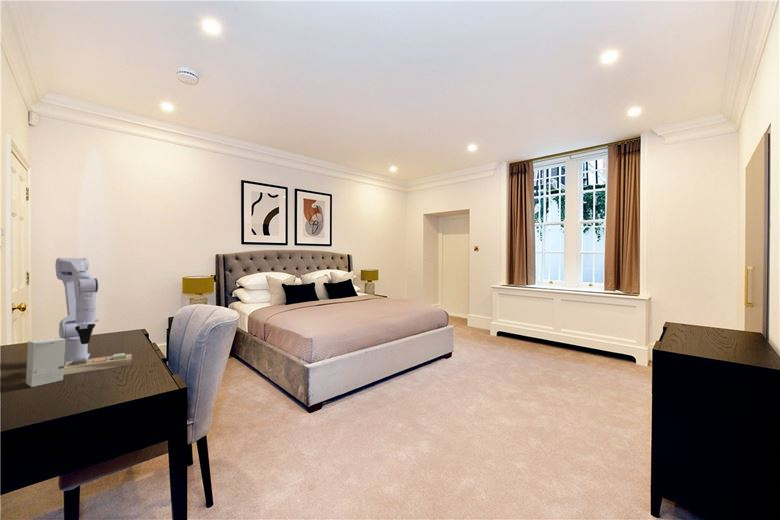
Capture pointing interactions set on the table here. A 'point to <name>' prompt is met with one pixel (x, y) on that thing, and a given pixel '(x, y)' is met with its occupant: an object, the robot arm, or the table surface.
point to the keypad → (96, 364)
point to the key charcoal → (79, 361)
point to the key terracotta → (99, 360)
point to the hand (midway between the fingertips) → (85, 343)
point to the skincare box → (45, 361)
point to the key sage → (119, 356)
